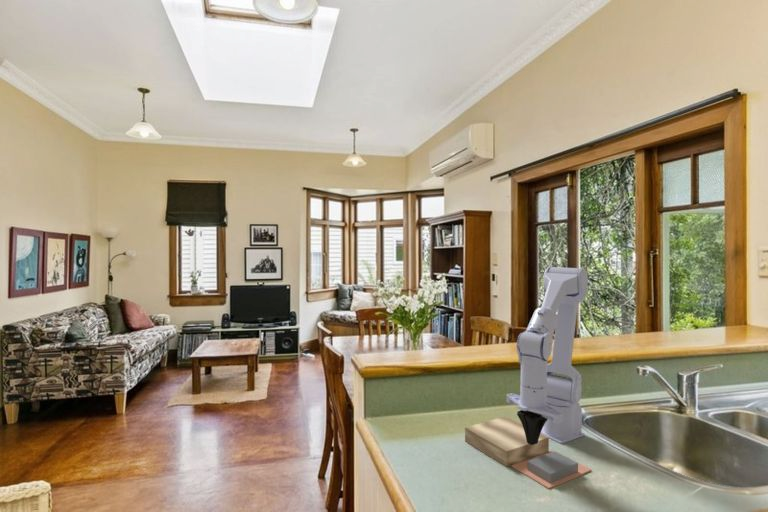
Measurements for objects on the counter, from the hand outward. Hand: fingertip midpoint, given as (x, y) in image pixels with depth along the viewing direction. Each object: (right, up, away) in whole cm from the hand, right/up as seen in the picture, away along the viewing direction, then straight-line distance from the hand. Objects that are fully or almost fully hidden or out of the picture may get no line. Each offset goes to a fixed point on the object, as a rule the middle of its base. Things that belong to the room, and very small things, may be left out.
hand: (532, 443), depth 99 cm
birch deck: (-4, -4, +7) cm, 9 cm away
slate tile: (+3, -2, -5) cm, 6 cm away
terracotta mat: (+3, -4, -3) cm, 6 cm away
